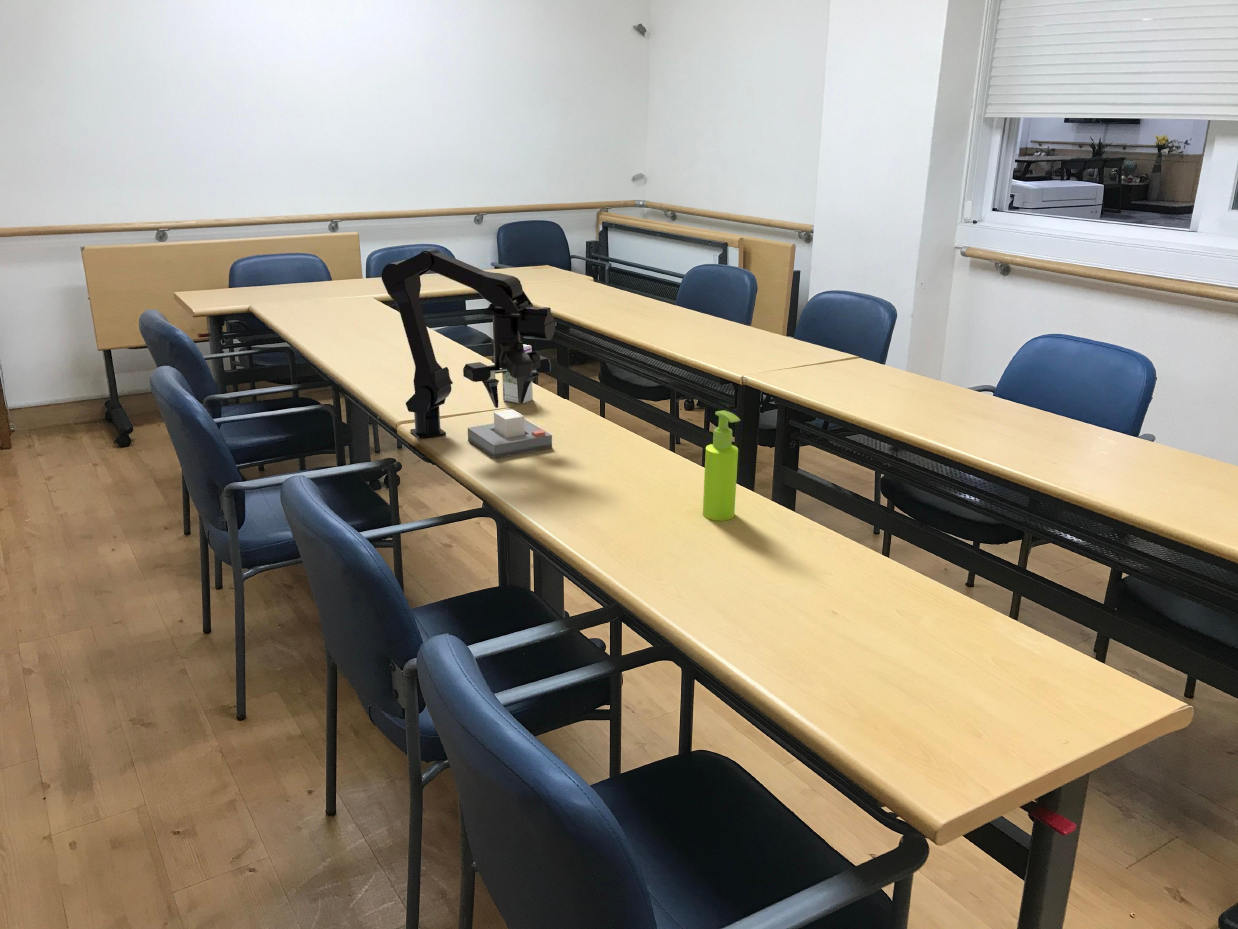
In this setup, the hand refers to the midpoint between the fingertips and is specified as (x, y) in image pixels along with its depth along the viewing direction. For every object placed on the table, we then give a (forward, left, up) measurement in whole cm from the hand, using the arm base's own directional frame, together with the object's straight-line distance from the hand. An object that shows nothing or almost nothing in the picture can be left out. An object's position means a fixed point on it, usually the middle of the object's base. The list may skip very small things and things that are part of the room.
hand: (508, 405), depth 210 cm
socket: (0, 0, -9) cm, 9 cm away
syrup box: (-30, +17, -9) cm, 36 cm away
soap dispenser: (+56, +16, -9) cm, 59 cm away
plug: (0, 0, -8) cm, 8 cm away
